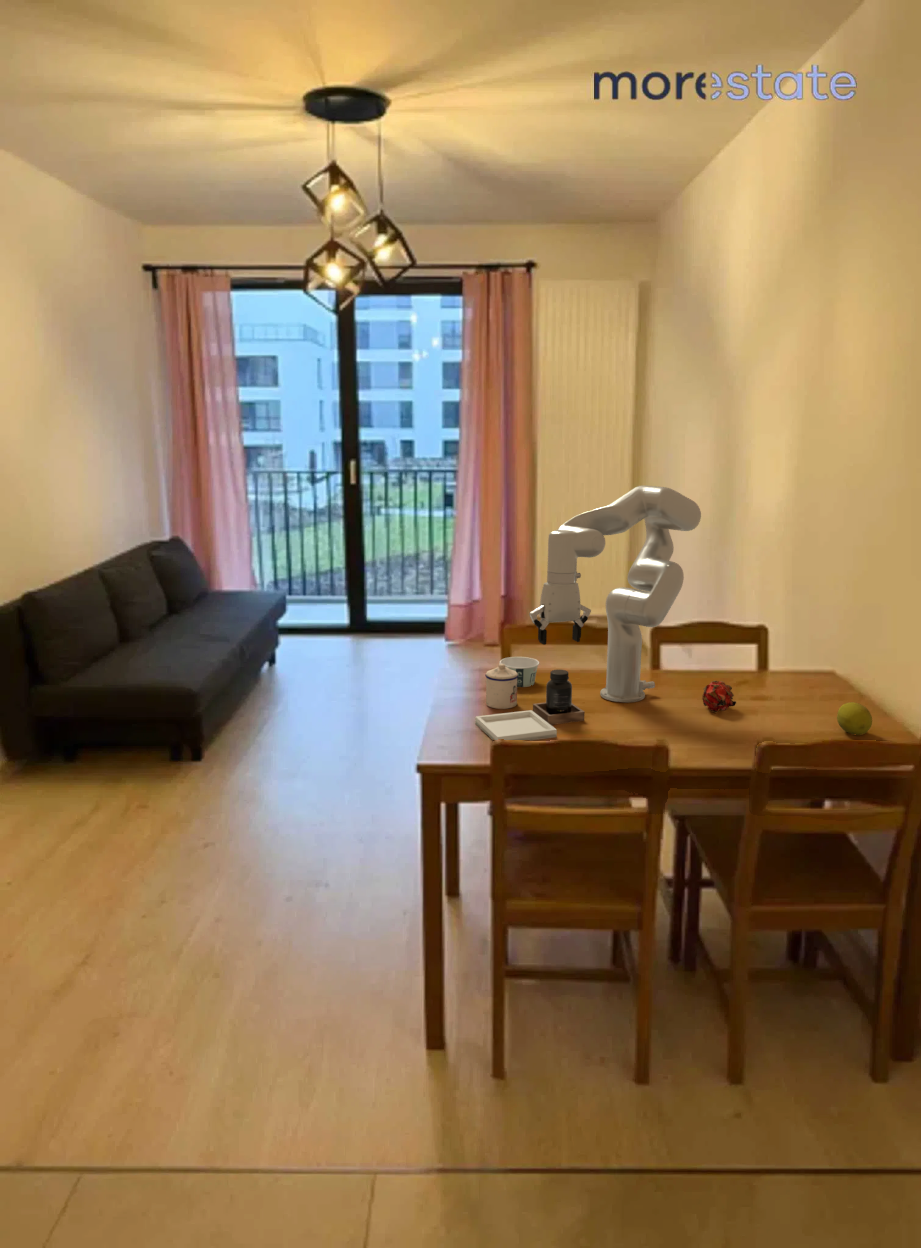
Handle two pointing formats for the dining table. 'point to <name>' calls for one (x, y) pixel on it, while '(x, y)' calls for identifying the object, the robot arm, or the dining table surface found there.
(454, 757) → the dining table surface
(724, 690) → the dragon fruit
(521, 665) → the food container
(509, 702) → the teacup with lid
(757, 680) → the dining table surface
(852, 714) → the lemon
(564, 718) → the holder
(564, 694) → the supplement bottle
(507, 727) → the tray
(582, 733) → the dining table surface
